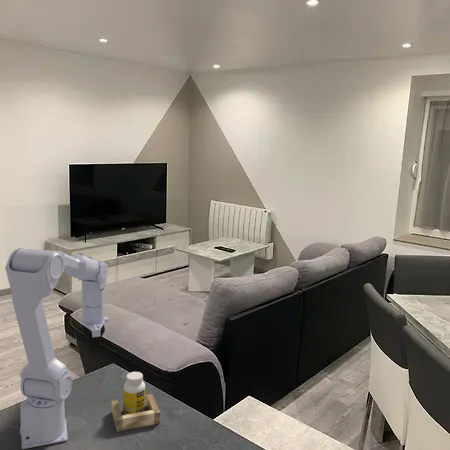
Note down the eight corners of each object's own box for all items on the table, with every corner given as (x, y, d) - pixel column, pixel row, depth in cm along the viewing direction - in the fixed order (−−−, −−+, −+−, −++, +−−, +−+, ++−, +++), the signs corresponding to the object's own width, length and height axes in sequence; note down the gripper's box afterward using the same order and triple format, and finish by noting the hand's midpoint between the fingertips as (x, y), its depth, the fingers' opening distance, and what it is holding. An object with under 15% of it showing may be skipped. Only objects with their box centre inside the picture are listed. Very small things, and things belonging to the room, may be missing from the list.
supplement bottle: (138, 419, 111) (138, 383, 109) (119, 414, 113) (118, 378, 111) (149, 407, 116) (149, 372, 114) (130, 403, 118) (130, 368, 116)
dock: (116, 431, 106) (116, 420, 106) (111, 411, 114) (111, 400, 113) (159, 423, 110) (159, 412, 109) (152, 404, 118) (152, 393, 117)
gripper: (112, 311, 116) (112, 361, 118) (105, 293, 129) (105, 338, 131) (83, 314, 113) (84, 365, 115) (79, 296, 126) (80, 341, 129)
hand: (93, 351), depth 123 cm, fingers closed
